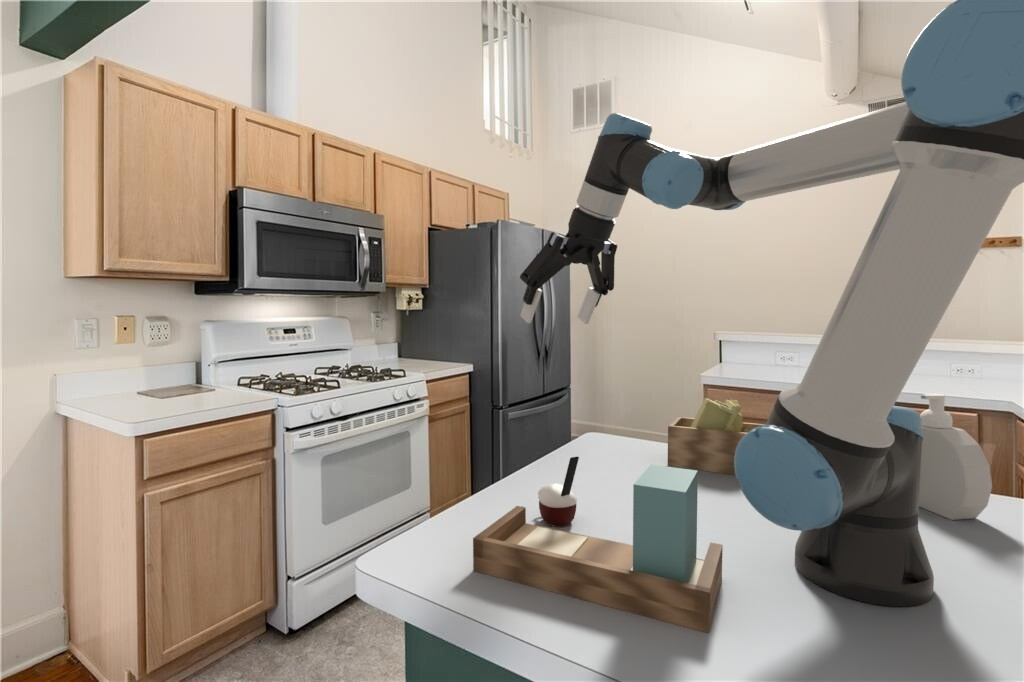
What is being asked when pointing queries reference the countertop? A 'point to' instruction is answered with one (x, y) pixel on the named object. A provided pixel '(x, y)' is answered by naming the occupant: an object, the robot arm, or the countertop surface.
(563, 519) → the cocoa
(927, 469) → the soap bottle
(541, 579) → the tray
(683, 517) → the teal carton
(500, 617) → the countertop surface
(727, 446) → the part holder
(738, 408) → the mechanical component
